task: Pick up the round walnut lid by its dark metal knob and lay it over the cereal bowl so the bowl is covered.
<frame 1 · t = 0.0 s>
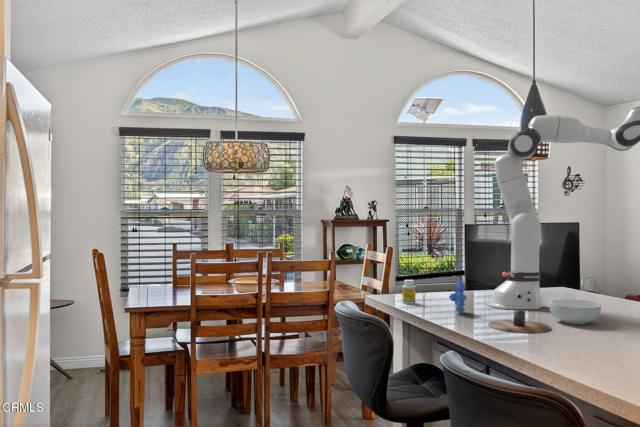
cereal bowl: (574, 323, 212), on the table
grapes: (457, 313, 230), on the table
supplement bottle: (408, 303, 253), on the table
lid: (519, 328, 203), on the table
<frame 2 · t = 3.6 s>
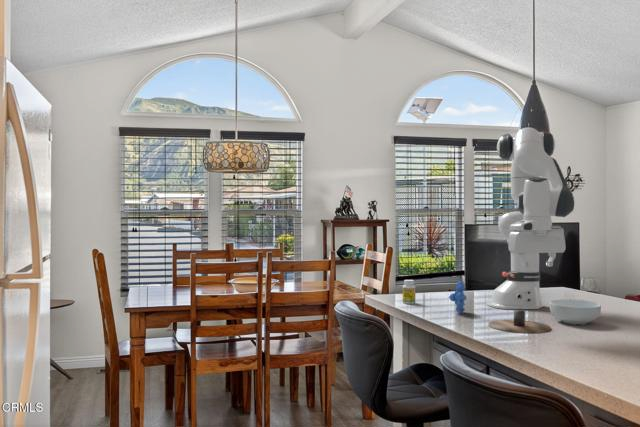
hand: (537, 266, 200), 21 cm above the table, tool pointing down, fingers open, 8 cm apart
nothing on the table moved.
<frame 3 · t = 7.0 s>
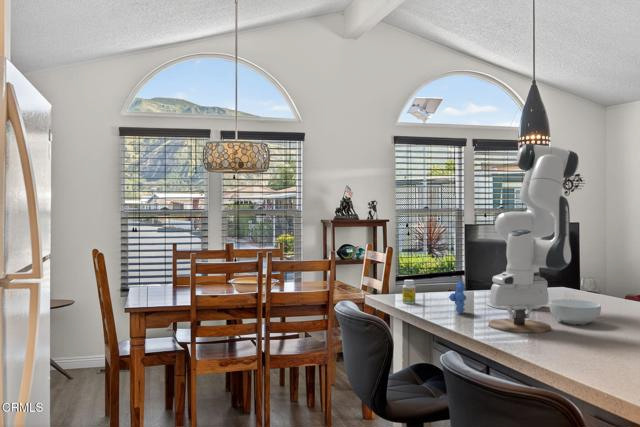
hand: (519, 318, 203), 3 cm above the table, tool pointing down, fingers closed on lid, 4 cm apart
lid: (519, 327, 203), on the table, touching gripper
everything else where it was.
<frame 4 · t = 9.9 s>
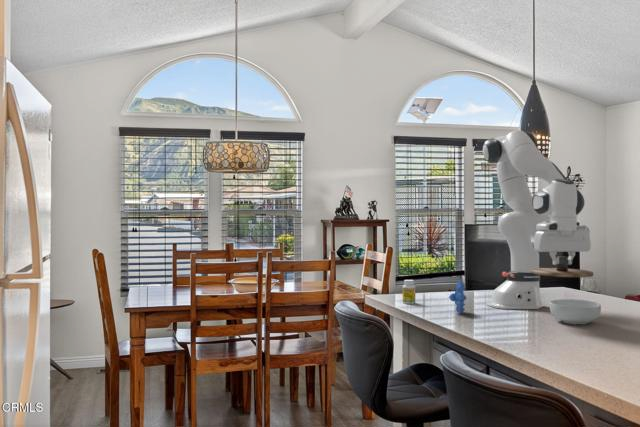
hand: (562, 264, 210), 21 cm above the table, tool pointing down, fingers closed on lid, 4 cm apart
lid: (562, 273, 210), point 17 cm above the table, touching gripper
everything else where it was.
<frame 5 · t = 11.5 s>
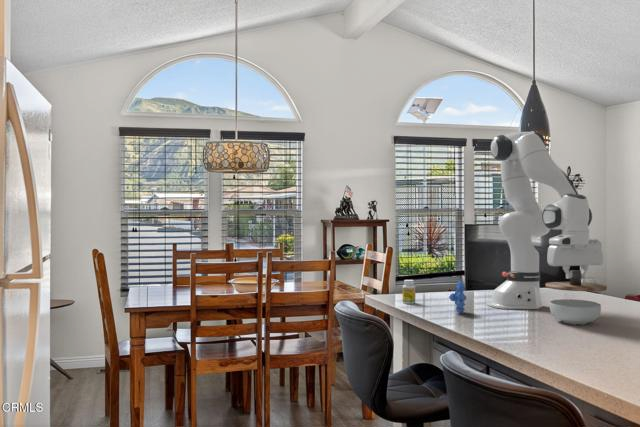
hand: (575, 278, 212), 16 cm above the table, tool pointing down, fingers closed on lid, 4 cm apart
lid: (575, 287, 212), point 12 cm above the table, touching gripper
everything else where it was.
when the fingers open (11 cm above the table, at t = 12.9 s): lid drops 1 cm, resting on cereal bowl.
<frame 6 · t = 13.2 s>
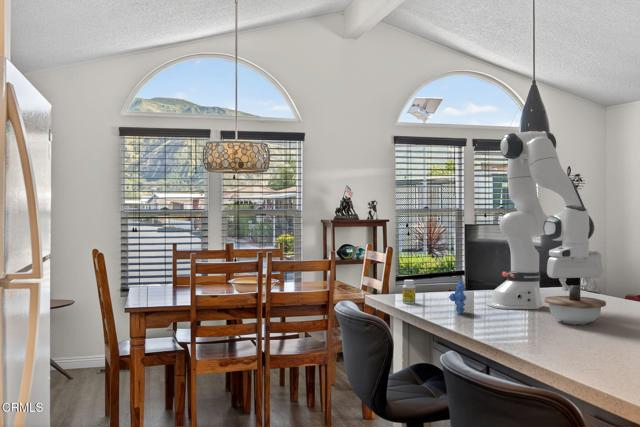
hand: (574, 290, 212), 11 cm above the table, tool pointing down, fingers open, 6 cm apart
cereal bowl: (574, 323, 212), on the table, touching lid
lid: (574, 302, 212), point 7 cm above the table, touching cereal bowl
everything else where it was.
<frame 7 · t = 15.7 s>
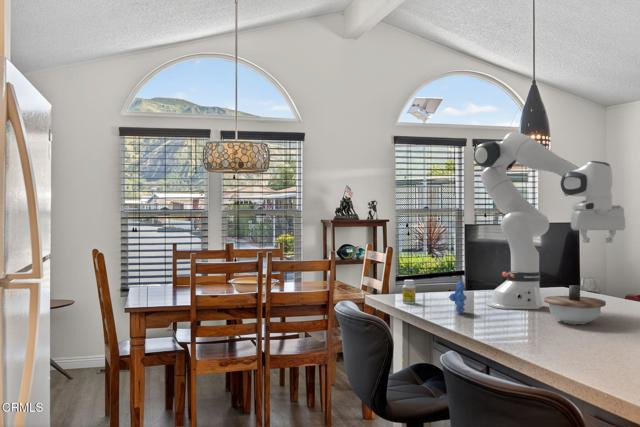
hand: (597, 242, 220), 28 cm above the table, tool pointing down, fingers open, 8 cm apart
nothing on the table moved.
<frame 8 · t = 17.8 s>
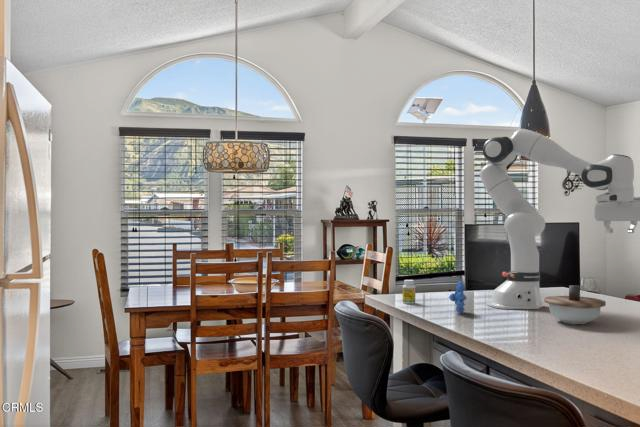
hand: (620, 233, 228), 31 cm above the table, tool pointing down, fingers open, 8 cm apart
nothing on the table moved.
at the end: lid 0.1 cm from the cereal bowl (horizontally); lid point 7.0 cm above the table; lid tilted 0° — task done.
